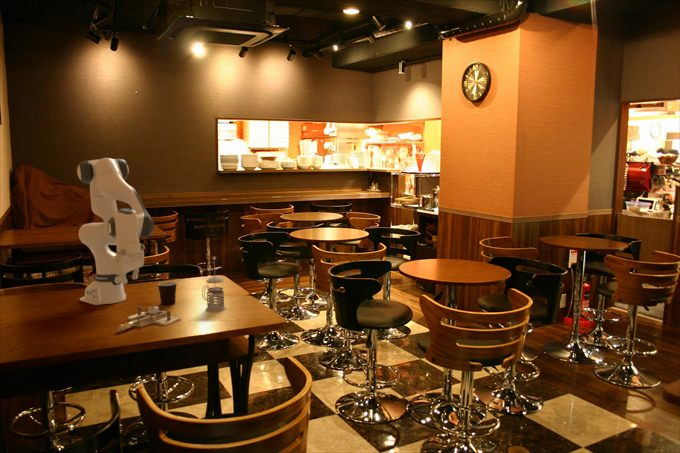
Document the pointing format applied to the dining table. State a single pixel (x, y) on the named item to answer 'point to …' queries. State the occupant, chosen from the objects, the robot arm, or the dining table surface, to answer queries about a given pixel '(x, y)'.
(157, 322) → the cradle
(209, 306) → the french press
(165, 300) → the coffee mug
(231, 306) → the dining table surface
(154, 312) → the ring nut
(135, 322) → the pin
